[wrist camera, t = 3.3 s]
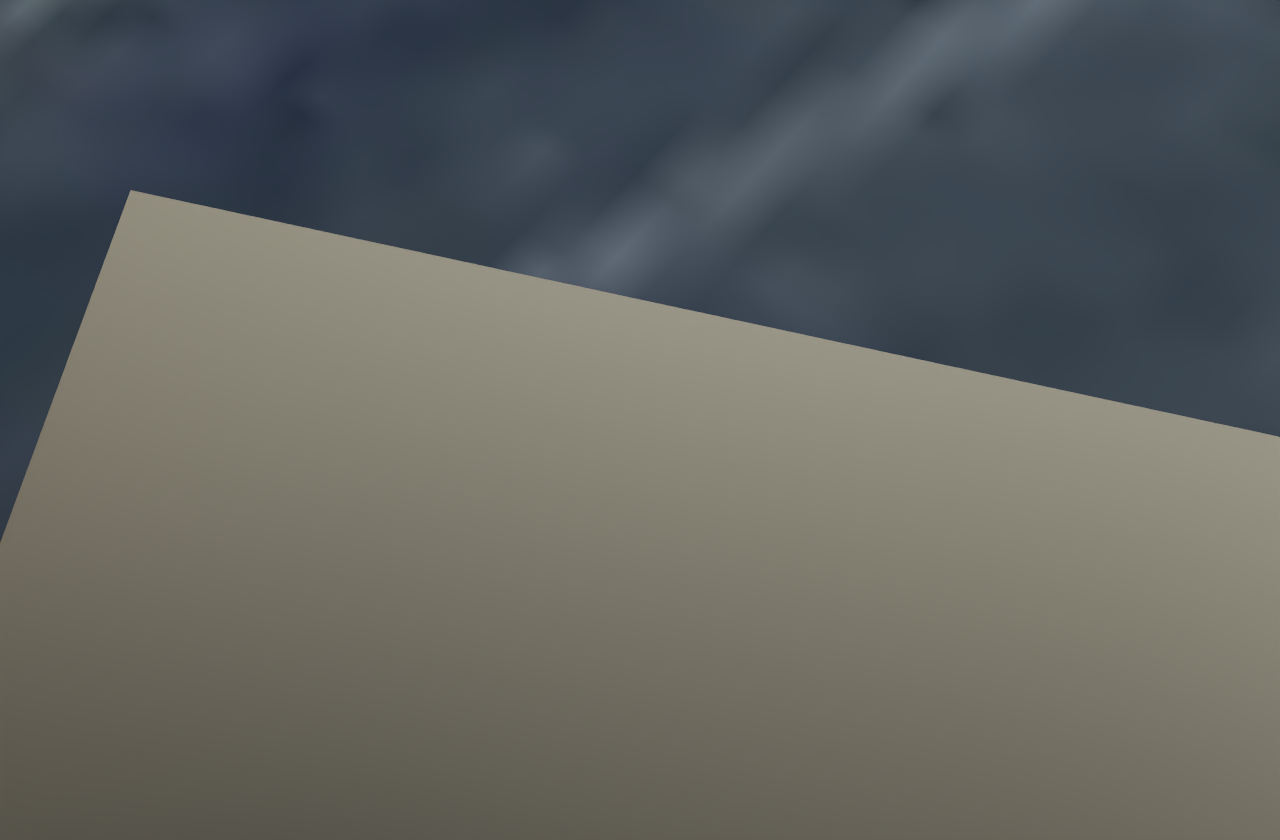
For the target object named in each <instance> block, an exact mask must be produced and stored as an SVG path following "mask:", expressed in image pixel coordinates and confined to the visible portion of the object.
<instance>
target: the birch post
mask: <svg viewBox="0 0 1280 840" xmlns="http://www.w3.org/2000/svg"><path fill="white" fill-rule="evenodd" d="M0 840H1280V437H1277V436H1273V435H1268V434H1263V433H1259V432H1254V431H1249V430H1245V429H1240V428H1235V427H1231V426H1226V425H1221V424H1217V423H1212V422H1207V421H1203V420H1198V419H1193V418H1189V417H1184V416H1179V415H1175V414H1170V413H1165V412H1161V411H1156V410H1152V409H1147V408H1142V407H1138V406H1133V405H1128V404H1124V403H1119V402H1114V401H1110V400H1105V399H1100V398H1096V397H1091V396H1086V395H1082V394H1077V393H1072V392H1068V391H1063V390H1058V389H1054V388H1049V387H1044V386H1040V385H1035V384H1030V383H1026V382H1021V381H1016V380H1012V379H1007V378H1002V377H998V376H993V375H989V374H984V373H979V372H975V371H970V370H965V369H961V368H956V367H951V366H947V365H942V364H937V363H933V362H928V361H923V360H919V359H914V358H909V357H905V356H900V355H895V354H891V353H886V352H881V351H877V350H872V349H867V348H863V347H858V346H853V345H849V344H844V343H839V342H835V341H830V340H825V339H821V338H816V337H812V336H807V335H802V334H798V333H793V332H788V331H784V330H779V329H774V328H770V327H765V326H760V325H756V324H751V323H746V322H742V321H737V320H732V319H728V318H723V317H718V316H714V315H709V314H704V313H700V312H695V311H690V310H686V309H681V308H676V307H672V306H667V305H662V304H658V303H653V302H648V301H644V300H639V299H635V298H630V297H625V296H621V295H616V294H611V293H607V292H602V291H597V290H593V289H588V288H583V287H579V286H574V285H569V284H565V283H560V282H555V281H551V280H546V279H541V278H537V277H532V276H527V275H523V274H518V273H513V272H509V271H504V270H499V269H495V268H490V267H485V266H481V265H476V264H471V263H467V262H462V261H458V260H453V259H448V258H444V257H439V256H434V255H430V254H425V253H420V252H416V251H411V250H406V249H402V248H397V247H392V246H388V245H383V244H378V243H374V242H369V241H364V240H360V239H355V238H350V237H346V236H341V235H336V234H332V233H327V232H322V231H318V230H313V229H308V228H304V227H299V226H294V225H290V224H285V223H281V222H276V221H271V220H267V219H262V218H257V217H253V216H248V215H243V214H239V213H234V212H229V211H225V210H220V209H215V208H211V207H206V206H201V205H197V204H192V203H187V202H183V201H178V200H173V199H169V198H164V197H159V196H155V195H150V194H145V193H141V192H136V191H130V194H129V196H128V199H127V202H126V204H125V207H124V210H123V212H122V215H121V218H120V221H119V223H118V226H117V229H116V231H115V234H114V237H113V240H112V242H111V245H110V248H109V250H108V253H107V256H106V258H105V261H104V264H103V267H102V269H101V272H100V275H99V277H98V280H97V283H96V286H95V288H94V291H93V294H92V296H91V299H90V302H89V304H88V307H87V310H86V313H85V315H84V318H83V321H82V323H81V326H80V329H79V331H78V334H77V337H76V340H75V342H74V345H73V348H72V350H71V353H70V356H69V359H68V361H67V364H66V367H65V369H64V372H63V375H62V377H61V380H60V383H59V386H58V388H57V391H56V394H55V396H54V399H53V402H52V405H51V407H50V410H49V413H48V415H47V418H46V421H45V423H44V426H43V429H42V432H41V434H40V437H39V440H38V442H37V445H36V448H35V450H34V453H33V456H32V459H31V461H30V464H29V467H28V469H27V472H26V475H25V478H24V480H23V483H22V486H21V488H20V491H19V494H18V496H17V499H16V502H15V505H14V507H13V510H12V513H11V515H10V518H9V521H8V524H7V526H6V529H5V532H4V534H3V537H2V540H1V542H0Z"/></svg>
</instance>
